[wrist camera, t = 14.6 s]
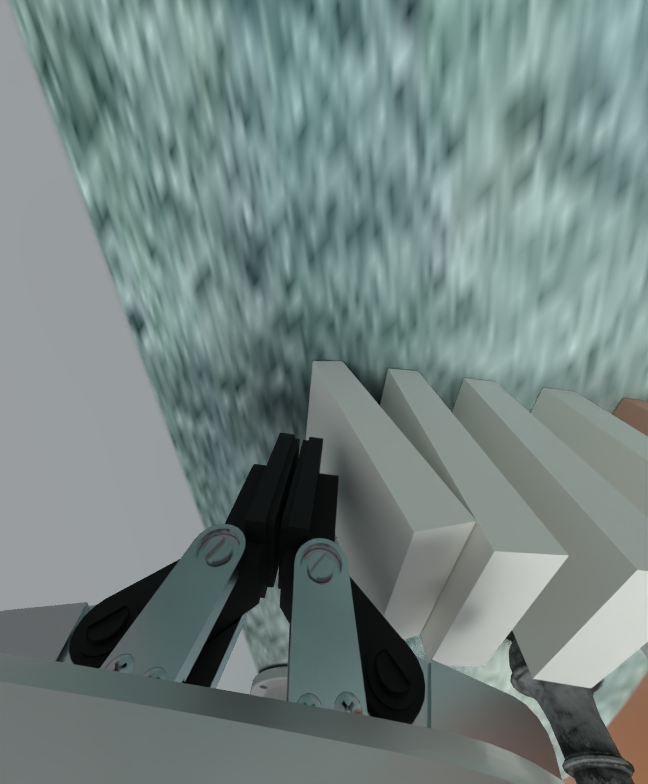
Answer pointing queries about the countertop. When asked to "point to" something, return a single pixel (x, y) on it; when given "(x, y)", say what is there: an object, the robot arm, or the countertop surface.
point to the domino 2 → (473, 531)
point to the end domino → (633, 414)
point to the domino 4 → (599, 443)
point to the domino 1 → (385, 501)
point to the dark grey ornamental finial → (573, 725)
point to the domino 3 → (567, 544)
